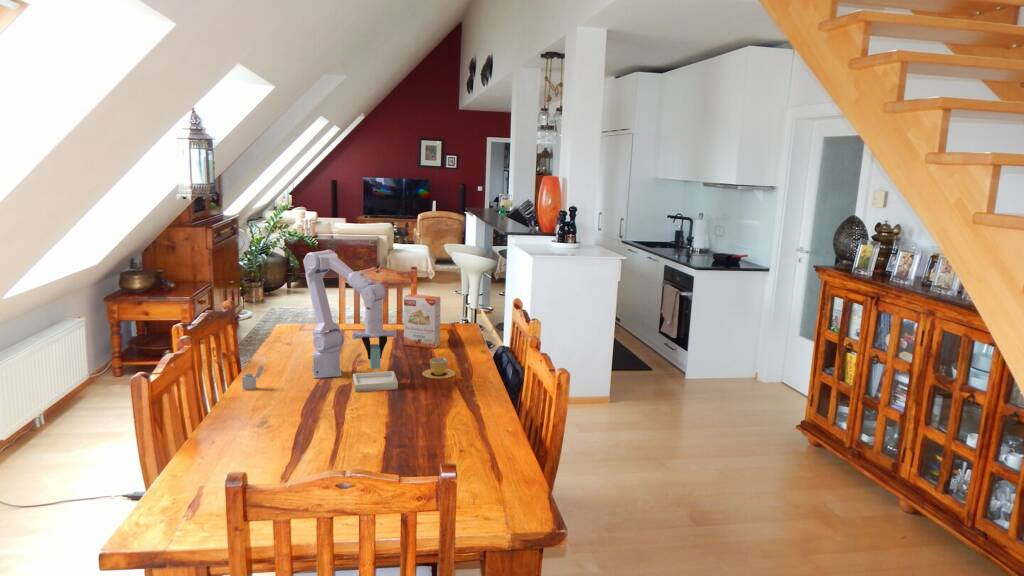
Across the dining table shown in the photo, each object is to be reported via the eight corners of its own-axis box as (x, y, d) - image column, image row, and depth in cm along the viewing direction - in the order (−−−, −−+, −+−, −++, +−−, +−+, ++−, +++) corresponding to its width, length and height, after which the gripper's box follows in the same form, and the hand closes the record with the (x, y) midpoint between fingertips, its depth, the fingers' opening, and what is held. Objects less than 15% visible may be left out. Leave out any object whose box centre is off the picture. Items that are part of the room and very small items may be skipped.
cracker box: (403, 345, 286) (403, 296, 282) (409, 342, 292) (409, 293, 288) (434, 349, 283) (435, 298, 279) (440, 345, 288) (440, 296, 284)
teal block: (369, 363, 239) (369, 344, 238) (378, 363, 240) (378, 343, 238) (371, 369, 233) (371, 349, 232) (380, 368, 234) (380, 348, 233)
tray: (355, 392, 231) (355, 384, 230) (352, 380, 242) (352, 373, 242) (397, 388, 235) (397, 381, 234) (393, 377, 246) (393, 371, 246)
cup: (449, 381, 245) (450, 366, 244) (417, 378, 247) (417, 363, 246) (459, 371, 256) (459, 356, 255) (428, 368, 259) (428, 354, 258)
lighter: (242, 389, 231) (241, 366, 229) (243, 387, 232) (242, 364, 231) (264, 389, 232) (263, 365, 230) (265, 387, 233) (264, 364, 232)
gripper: (352, 323, 228) (353, 363, 231) (397, 321, 232) (397, 360, 235) (351, 318, 235) (352, 357, 237) (394, 316, 239) (395, 354, 242)
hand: (374, 358), depth 237 cm, fingers closed on teal block, 3 cm apart
